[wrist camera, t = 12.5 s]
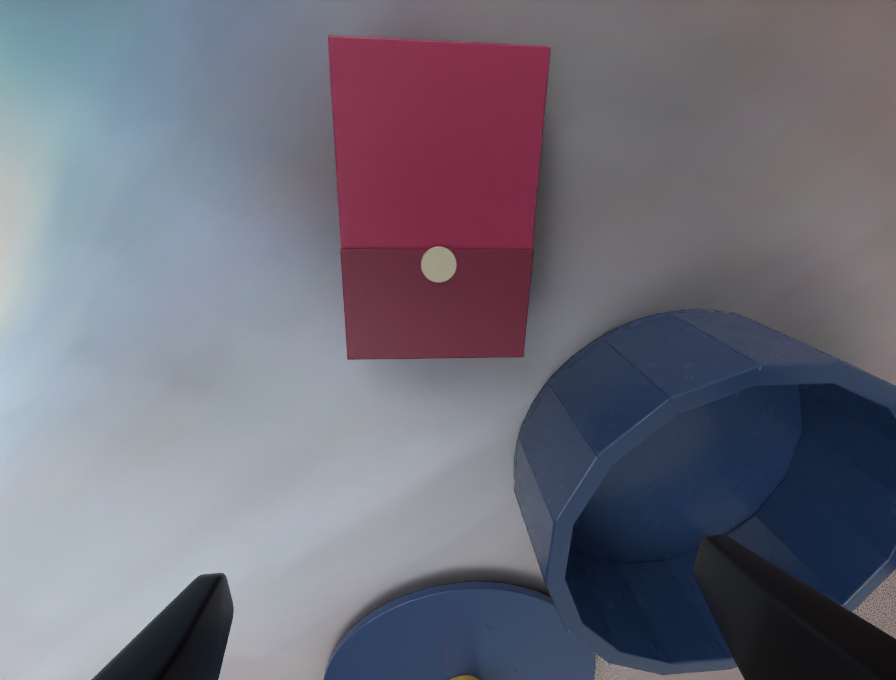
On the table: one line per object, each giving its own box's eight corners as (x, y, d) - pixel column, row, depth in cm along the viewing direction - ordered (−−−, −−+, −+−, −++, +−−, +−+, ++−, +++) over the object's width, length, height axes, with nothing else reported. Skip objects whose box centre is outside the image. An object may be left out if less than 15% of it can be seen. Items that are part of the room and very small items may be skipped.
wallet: (342, 58, 16) (325, 31, 12) (524, 67, 16) (554, 43, 13) (356, 328, 19) (346, 361, 16) (504, 326, 20) (524, 359, 17)
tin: (851, 308, 21) (1011, 360, 16) (759, 557, 27) (851, 660, 21) (527, 309, 20) (576, 367, 14) (502, 572, 25) (530, 686, 20)
